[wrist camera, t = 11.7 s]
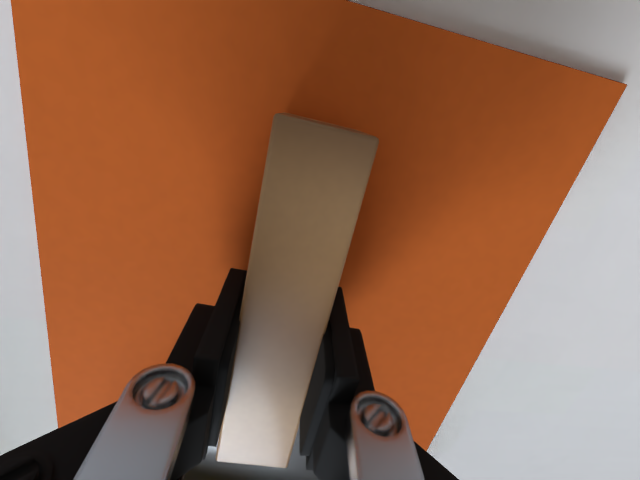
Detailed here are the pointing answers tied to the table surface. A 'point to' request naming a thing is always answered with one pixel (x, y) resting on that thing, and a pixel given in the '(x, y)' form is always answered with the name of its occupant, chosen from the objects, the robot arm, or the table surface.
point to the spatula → (289, 294)
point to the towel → (248, 169)
